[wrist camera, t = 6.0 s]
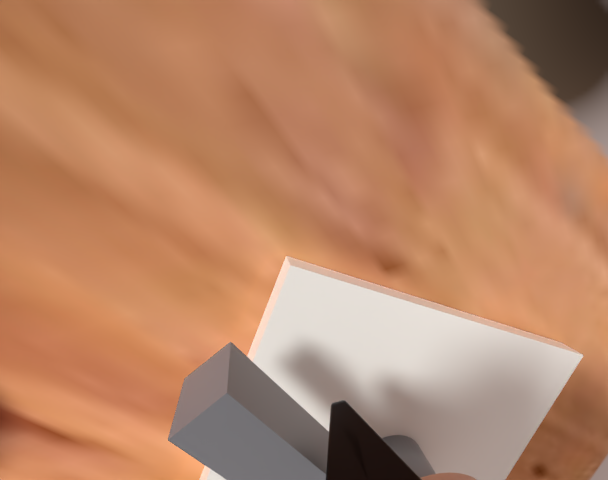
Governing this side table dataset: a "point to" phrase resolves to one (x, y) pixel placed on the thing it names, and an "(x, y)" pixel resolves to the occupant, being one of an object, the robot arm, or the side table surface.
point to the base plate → (409, 370)
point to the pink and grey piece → (251, 424)
